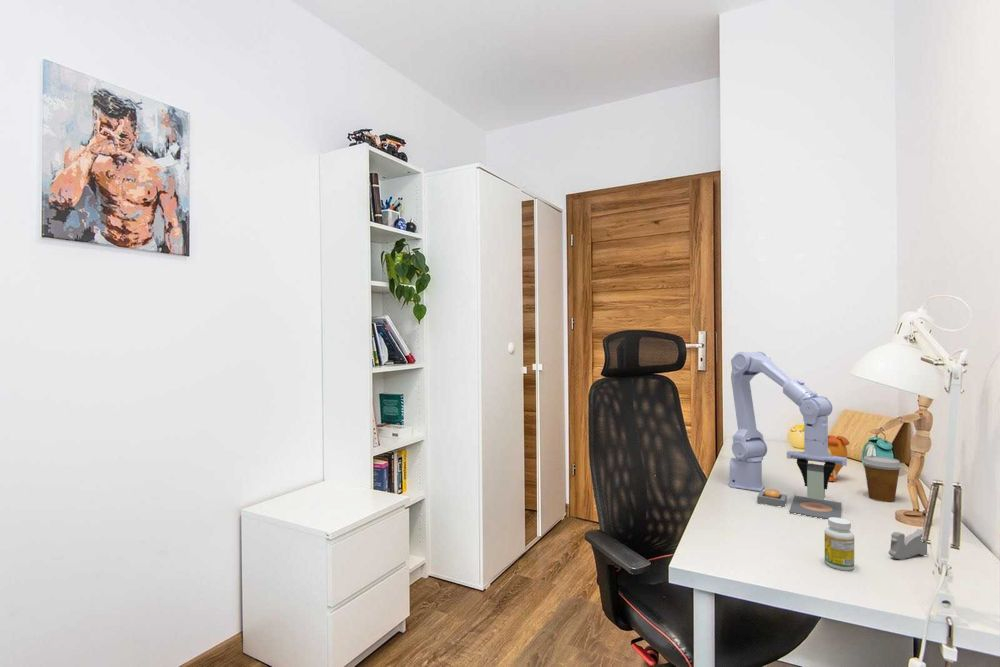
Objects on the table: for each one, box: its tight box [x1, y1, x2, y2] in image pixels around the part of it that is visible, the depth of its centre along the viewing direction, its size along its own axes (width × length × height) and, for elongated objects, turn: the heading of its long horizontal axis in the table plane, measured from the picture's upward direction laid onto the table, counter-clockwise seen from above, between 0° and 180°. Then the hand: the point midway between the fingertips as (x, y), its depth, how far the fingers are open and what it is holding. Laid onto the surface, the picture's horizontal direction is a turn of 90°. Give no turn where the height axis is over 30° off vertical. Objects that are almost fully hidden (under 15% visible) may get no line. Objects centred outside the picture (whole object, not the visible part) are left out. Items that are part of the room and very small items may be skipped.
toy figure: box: [828, 434, 850, 482], centre depth 175 cm, size 12×8×15 cm, turn 159°
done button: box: [764, 488, 781, 499], centre depth 151 cm, size 4×4×2 cm
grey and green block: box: [806, 462, 826, 500], centre depth 146 cm, size 4×4×9 cm
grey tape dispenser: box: [887, 528, 928, 560], centre depth 113 cm, size 6×1×10 cm
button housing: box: [756, 490, 788, 508], centre depth 151 cm, size 7×7×2 cm
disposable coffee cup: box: [862, 455, 902, 503], centre depth 155 cm, size 10×10×12 cm
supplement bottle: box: [824, 517, 855, 571], centre depth 109 cm, size 5×5×10 cm
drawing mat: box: [788, 494, 842, 520], centre depth 146 cm, size 12×18×1 cm, turn 146°
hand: (816, 486), depth 146 cm, fingers closed on grey and green block, 4 cm apart
